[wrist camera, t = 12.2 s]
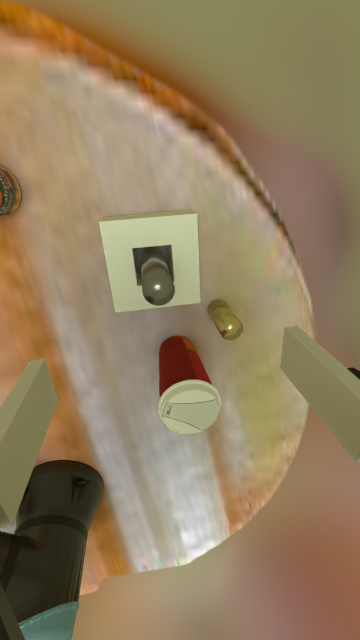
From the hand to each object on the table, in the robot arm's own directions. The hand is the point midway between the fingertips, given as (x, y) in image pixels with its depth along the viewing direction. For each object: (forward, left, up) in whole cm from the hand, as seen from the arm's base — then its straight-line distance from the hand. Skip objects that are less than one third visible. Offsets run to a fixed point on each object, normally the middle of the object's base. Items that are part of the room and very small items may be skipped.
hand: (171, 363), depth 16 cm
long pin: (0, 0, -26) cm, 26 cm away
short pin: (+9, -9, -26) cm, 29 cm away
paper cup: (+2, -15, -26) cm, 30 cm away
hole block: (0, 0, -26) cm, 26 cm away
